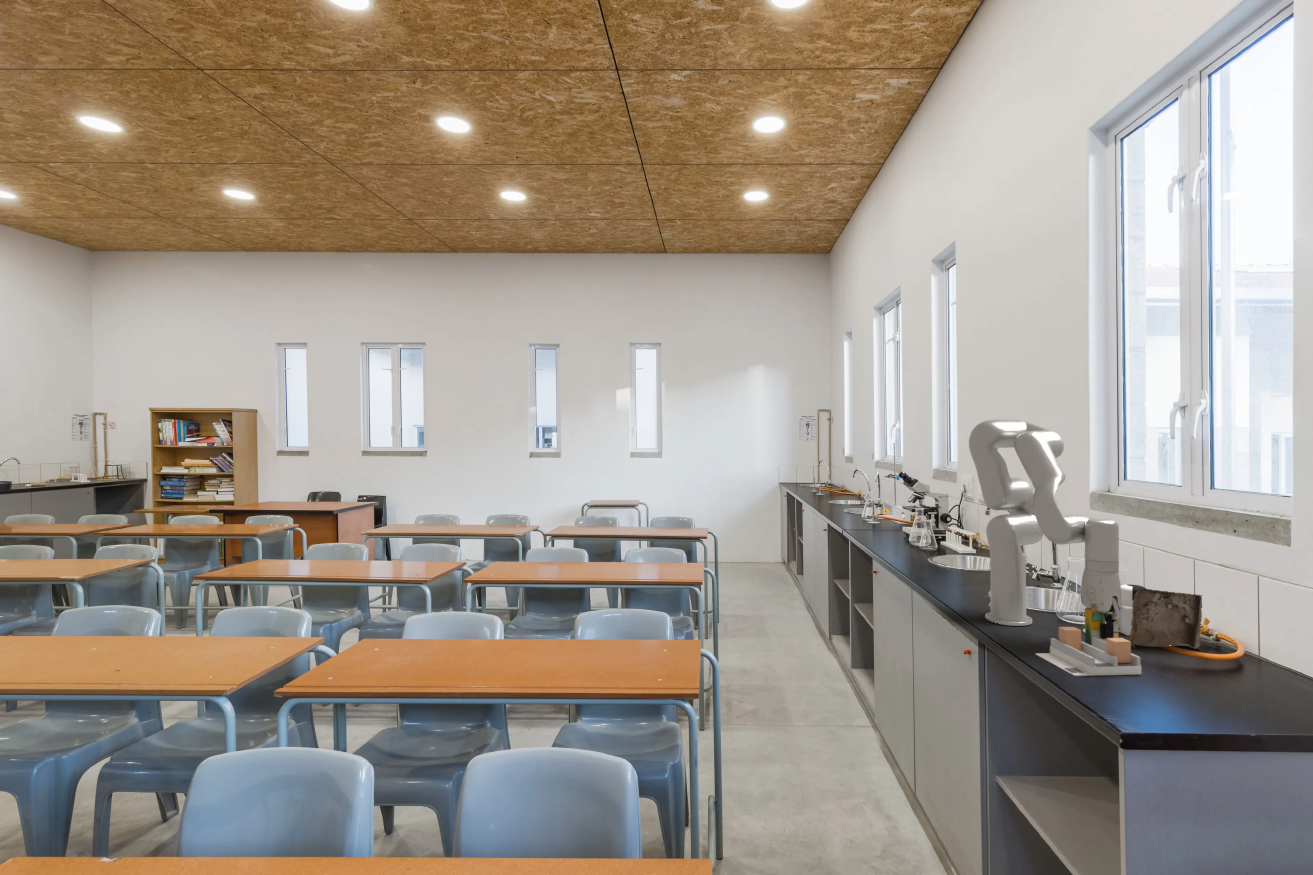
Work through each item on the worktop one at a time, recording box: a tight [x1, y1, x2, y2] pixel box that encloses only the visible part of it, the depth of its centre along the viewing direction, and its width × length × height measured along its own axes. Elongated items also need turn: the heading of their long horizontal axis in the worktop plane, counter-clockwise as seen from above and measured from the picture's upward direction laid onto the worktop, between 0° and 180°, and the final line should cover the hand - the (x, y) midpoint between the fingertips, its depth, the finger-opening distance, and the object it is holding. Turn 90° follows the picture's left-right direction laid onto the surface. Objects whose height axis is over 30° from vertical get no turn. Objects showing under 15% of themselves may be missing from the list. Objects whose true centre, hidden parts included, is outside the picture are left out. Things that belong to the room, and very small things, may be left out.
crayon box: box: [1084, 604, 1120, 645], centre depth 185 cm, size 7×3×12 cm, turn 90°
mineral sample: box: [1127, 588, 1203, 649], centre depth 184 cm, size 17×4×15 cm, turn 81°
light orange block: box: [1106, 637, 1132, 663], centre depth 167 cm, size 3×4×5 cm
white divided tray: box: [1035, 637, 1142, 677], centre depth 172 cm, size 16×16×4 cm
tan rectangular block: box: [1058, 626, 1082, 650], centre depth 177 cm, size 3×4×5 cm
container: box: [1118, 583, 1147, 637], centre depth 198 cm, size 8×8×13 cm
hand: (1101, 635), depth 185 cm, fingers open, 3 cm apart
